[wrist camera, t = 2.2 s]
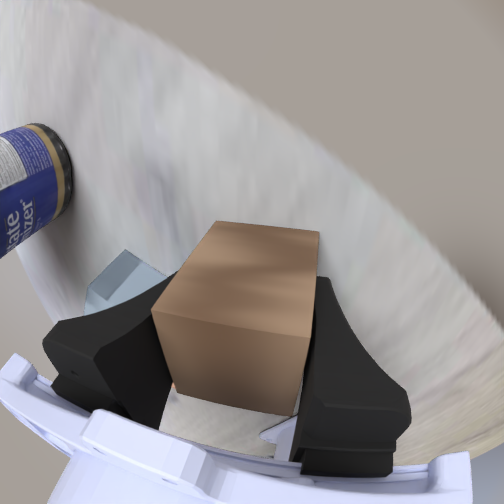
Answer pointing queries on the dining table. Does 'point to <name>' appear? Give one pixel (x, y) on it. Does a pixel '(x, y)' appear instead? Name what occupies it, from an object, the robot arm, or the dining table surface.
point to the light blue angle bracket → (121, 283)
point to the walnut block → (241, 316)
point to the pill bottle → (31, 182)
